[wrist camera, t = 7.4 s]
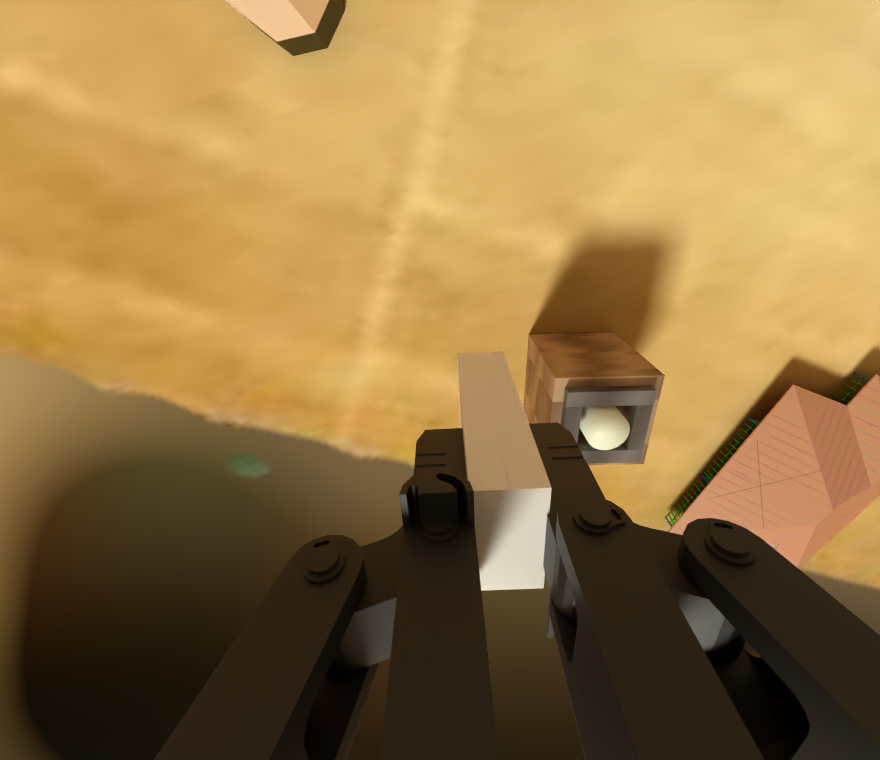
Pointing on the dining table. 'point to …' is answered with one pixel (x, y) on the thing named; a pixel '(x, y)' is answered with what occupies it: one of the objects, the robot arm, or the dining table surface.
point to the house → (798, 472)
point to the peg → (604, 426)
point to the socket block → (592, 388)
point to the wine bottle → (294, 21)
